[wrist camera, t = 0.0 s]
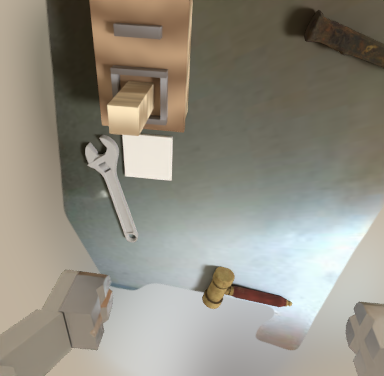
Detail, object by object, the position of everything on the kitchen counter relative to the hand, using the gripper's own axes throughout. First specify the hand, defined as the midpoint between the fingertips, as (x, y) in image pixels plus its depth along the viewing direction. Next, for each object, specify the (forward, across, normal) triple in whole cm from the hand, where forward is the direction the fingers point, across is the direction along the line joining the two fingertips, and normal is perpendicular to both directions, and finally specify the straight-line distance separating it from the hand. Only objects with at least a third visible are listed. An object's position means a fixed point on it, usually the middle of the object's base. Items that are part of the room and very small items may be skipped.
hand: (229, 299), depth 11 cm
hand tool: (+48, -20, -1) cm, 52 cm away
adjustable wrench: (+49, +20, +30) cm, 61 cm away
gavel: (+49, -11, +55) cm, 75 cm away
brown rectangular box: (+48, +12, +3) cm, 50 cm away
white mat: (+48, +13, +21) cm, 54 cm away
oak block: (+40, +12, +7) cm, 42 cm away
